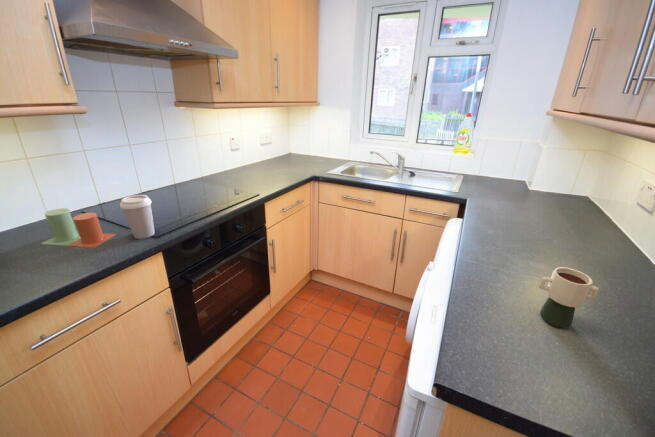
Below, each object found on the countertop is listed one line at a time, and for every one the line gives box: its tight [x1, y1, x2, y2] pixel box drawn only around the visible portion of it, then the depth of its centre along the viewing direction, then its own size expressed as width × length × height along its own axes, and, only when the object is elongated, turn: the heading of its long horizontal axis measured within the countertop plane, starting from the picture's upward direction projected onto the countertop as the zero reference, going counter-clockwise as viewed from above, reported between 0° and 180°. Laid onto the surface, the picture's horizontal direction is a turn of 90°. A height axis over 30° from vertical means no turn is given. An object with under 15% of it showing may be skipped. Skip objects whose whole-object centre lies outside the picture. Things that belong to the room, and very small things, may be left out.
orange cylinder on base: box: [72, 212, 104, 244], centre depth 102 cm, size 6×6×9 cm
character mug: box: [538, 266, 600, 329], centre depth 69 cm, size 11×7×13 cm, turn 69°
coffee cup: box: [119, 194, 156, 240], centre depth 106 cm, size 10×10×15 cm
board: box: [40, 231, 117, 248], centre depth 105 cm, size 10×20×1 cm, turn 84°
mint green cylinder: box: [44, 207, 78, 242], centre depth 103 cm, size 6×6×10 cm
